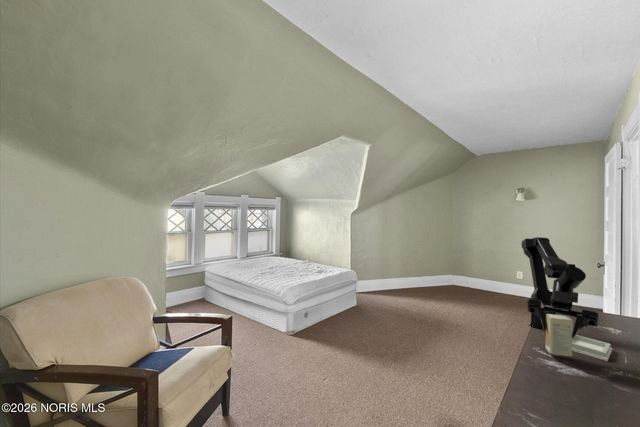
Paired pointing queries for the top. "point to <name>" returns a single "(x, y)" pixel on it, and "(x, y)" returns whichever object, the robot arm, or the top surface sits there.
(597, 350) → the dock
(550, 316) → the skincare box
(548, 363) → the top surface
